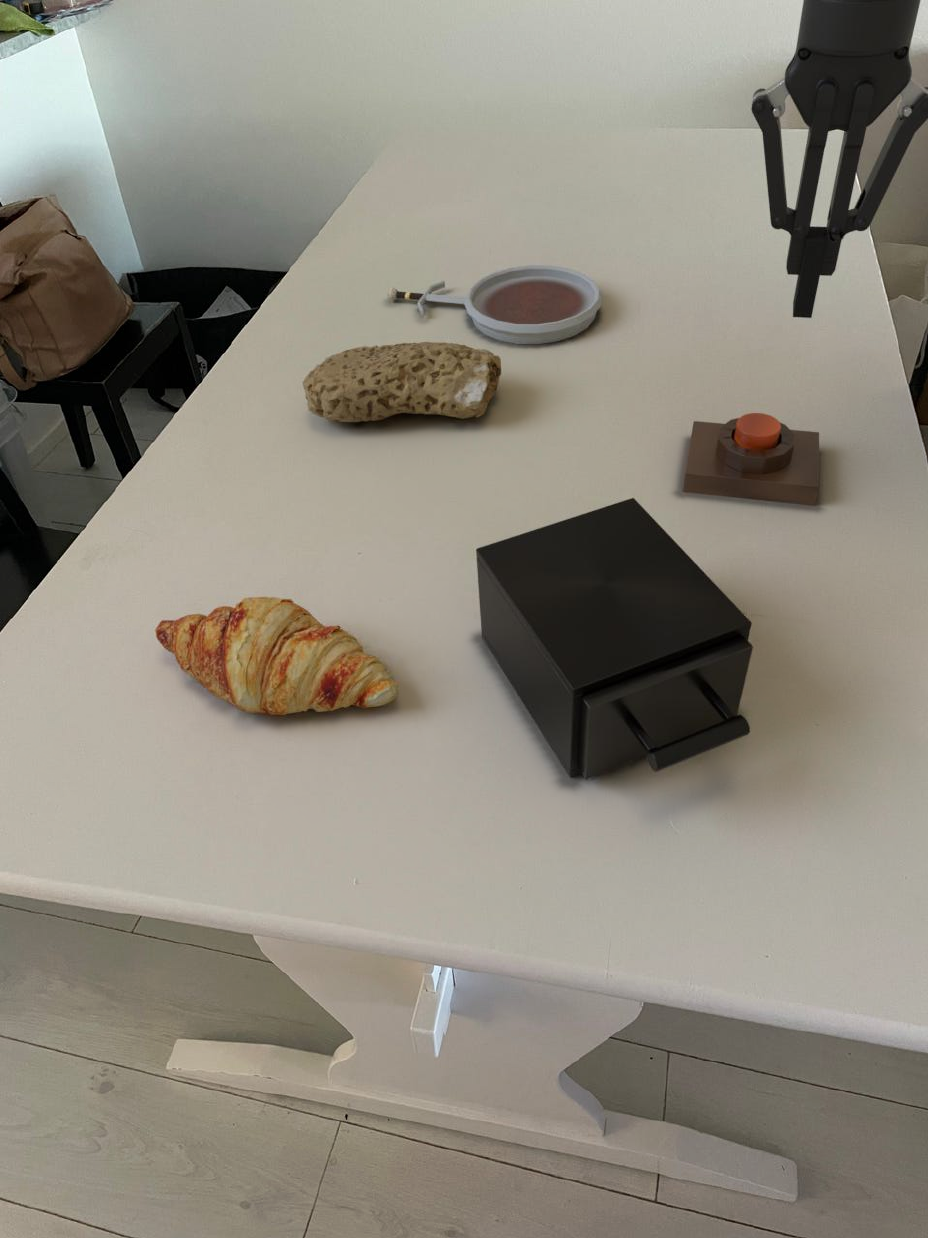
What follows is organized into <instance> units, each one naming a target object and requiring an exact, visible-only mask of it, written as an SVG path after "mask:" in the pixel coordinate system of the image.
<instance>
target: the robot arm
mask: <svg viewBox="0 0 928 1238" xmlns="http://www.w3.org/2000/svg"><path fill="white" fill-rule="evenodd" d="M920 5H921V0H803V1H802V8H801V15H800V21H799V28H798V35H797V39H796V47H795V52H794V54H793V56H792V58H791V60H790V61H789V63H788V65H787V67H786V68H785V73H784V77H783V78H782V79H780V80H778V81H777V82H775V83H774V84H772V85H770V86H769V87H767V88H758V89H757V90H756V91H754V93H753V95H752V99H751V100H752V101H751V113H752V116H753V117H754V119H755V121H756V123H757V125H758V127H759V129H760V131H761V133H762V141H763V142H762V145H763V153H764V165H765V176H766V185H767V186H766V187H767V196H768V207H769V217H770V225H771V227H772V228H773V229H775V230H783V231H786V232H787V233H789V235H790V239H789V244H788V251H787V257H786V265H785V266H786V268H785V269H786V272H787V273H786V274H787V275H788V276H789V275H790V276H791V275H793V276H797V279H796V284H795V290H794V296H793V301H792V318H802V319H803V318H804V319H812V318H813V311H814V306H815V301H816V297H817V292H818V287H819V282H820V277H821V276H823V277H824V276H825V277H826V276H827V277H829V276H830V277H832V275H833V274H834V273H835V271H836V270H837V269H836V267H837V262H838V259H839V254H840V250H841V244H842V240H843V239H844V237H845V236H846V235H847V234H849V233H852V232H856V231H858V232H865V231H866V230H868V229H869V227H870V226H871V224H872V223H873V220H874V218H875V216H876V214H877V212H878V210H879V208H880V206H881V203H882V202H883V199H884V198H885V195H886V194H887V191H888V189H889V187H890V185H891V183H892V181H893V179H894V177H895V175H896V173H897V171H898V168H899V167H900V164H901V162H902V160H903V158H904V156H905V154H906V152H907V150H908V148H909V146H910V144H911V142H912V140H913V138H914V136H915V134H916V133H917V131H918V130H919V129H920V128H921V127H922V126H923V125H924V124H925V122H926V121H927V120H928V86H922V84H920V83H919V82H918V81H917V80H915V79H914V78H913V77H912V75H913V69H912V66H911V62H910V49H911V44H912V39H913V35H914V32H915V26H916V22H917V18H918V14H919V10H920ZM899 95H900V99H899V100H898V102H897V105H896V111H897V114H898V115H897V117H896V118H895V120H894V122H893V124H892V126H891V128H890V131H889V132H888V134H887V137H886V139H885V140H884V143H883V145H882V147H881V149H880V151H879V154H878V156H877V158H876V159H875V162H874V164H873V166H872V169H871V172H870V173H869V175H868V177H867V179H866V181H865V183H864V186H863V188H862V190H861V193H860V194H859V197H858V198H857V201H856V203H855V205H854V207H853V208H850V205H851V200H852V196H853V192H854V191H853V190H854V186H855V182H856V176H857V172H858V166H859V161H860V157H861V152H862V148H863V146H864V141H865V137H866V131H867V128H868V127H870V126H871V125H872V124H873V123H874V122H875V121H876V120H877V119H878V118H879V117H880V116H881V115H882V114H883V113H884V111H886V109H887V108H888V107H889V106H890V105H891V104H892V103H893V102H894V101H895V99H897V97H898V96H899ZM788 96H790V98H791V100H792V102H793V104H794V106H795V107H796V109H797V111H798V113H799V116H800V117H801V119H802V120H803V122H804V124H805V125H806V126H807V127H808V131H807V138H806V145H805V151H804V156H803V162H802V168H801V173H800V178H799V185H798V190H797V197H796V202H795V206H794V207H795V208H791V207H789V206H788V199H787V198H788V197H787V188H786V175H785V162H784V152H783V151H784V149H783V140H782V127H781V118H782V116H783V115H784V114H785V111H786V98H788ZM836 130H839V131H841V132H842V131H843V135H842V141H841V147H840V150H839V151H840V152H839V157H838V162H837V166H836V167H837V168H836V171H835V177H834V183H833V188H832V192H831V199H830V202H829V203H830V205H829V209H828V214H827V219H826V220H827V221H826V226H811V224H812V219H813V212H814V208H815V202H816V197H817V192H818V185H819V181H820V176H821V170H822V166H823V165H822V164H823V158H824V154H825V148H826V145H827V142H828V135H829V132H833V131H836Z"/></svg>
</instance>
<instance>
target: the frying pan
mask: <svg viewBox="0 0 928 1238" xmlns="http://www.w3.org/2000/svg"><path fill="white" fill-rule="evenodd" d="M445 281H446V280H442V281H439V282H437V283H434V284H432V285H429V286H428V287H427V289H426V290H425V292H424V293H421V292H420V293H419V292H411V291H399V290H398V288H396V287H393V286H392V287H391V288H389V289H388V290H387V293H386V296H387V298H388V299H389V300H390V301H391V302H395V301H396V300H398V299H402V300H403V299H404V300H409V301H410V300H415V301H417V309H418V311H419V313H420V315H421V316H422V317H424V316H425V315H426V314H425V309H424V307H423V305H424V304H425V303H426V302H432V303H433V302H435V303H447V304H457V305H464V307H465V310H466V313H467V314H468V316H469V317H471V319H472V322H473V324H474V327H475V328H476V329H478V331H480V332H481V333H482V334H483V335H485V336H487V337H490V338H493V339H495V340H497V341H501V342H505V343H509V344H511V343H512V344H516V345H542V344H548V343H556V342H559V341H563V340H566V339H569V338H572V337H575V336H577V335H579V334H580V333H582V332H583V331H585V330H587V329H588V328H589V327H590V325H591V324H592V323H593V322H594V321H595V318H596V316H597V313H598V312H597V311H598V310H599V309H600V308H601V307H602V305H603V304H602V303H603V294H602V292H601V289H600V288H599V286H598V285H597V283H596V281H595V280H593V279H592V278H591V277H589V276H588V275H586V274H585V273H583V272H581V271H577V270H574V269H571V268H569V267H563V266H557V265H550V264H528V265H521V266H513V267H508V268H504V269H500V270H498V271H494V272H491V273H490V274H488V275H486V276H483V277H482V278H480V279H477V281H476V282H475V283H474V284H473V285H472V286H471V287H470V288H469V289H468V292H467V294H466V296H459V295H458V296H456V295H446V294H435V293H434V292H437V291H439V290H441V289H444V288H446V282H445ZM433 293H434V294H433Z"/></svg>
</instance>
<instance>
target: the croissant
mask: <svg viewBox="0 0 928 1238" xmlns="http://www.w3.org/2000/svg"><path fill="white" fill-rule="evenodd" d="M154 631H155V637H156V639H157V641H158V642H159V643H160V645H161V646H162V647H163V648H164V649H165V650H166V651H168V652H170V653H172V654H174V658H175V660H176V662H177V664H178V665H179V668H180V669H181V671H182V672H183V673H185V674H187V675H188V676H189V677H190V678H191V679H192V680H195V681H197V683H199V684H200V685H201V686H202V687H203V688H205V689H207V691H208V693H209V694H211V695H213V696H215V697H216V698H218V699H220V700H223V701H225V702H227V703H230V704H231V705H233V706H234V707H236V708H237V709H238V710H241V711H243V712H246V713H260V714H266V715H270V716H284V715H288V714H295V713H301V712H307V711H308V710H309V709H310V710H314V711H315V712H317V713H318V712H319V713H321V712H332V711H334V710H338V709H341V708H345V709H346V708H349V707H351V705H352V706H355V707H360V708H362V709H365V708H366V709H367V708H374V707H381V706H385V705H387V704H389V703H391V702H392V701H394V700H395V699H396V698H397V697H398V695H399V685H398V683H397V682H395V681H394V680H393V679H394V678H393V676H392V675H391V674H390V673H388V668H387V667H386V666H385V665H384V664H383V663H382V661H381V660H380V659H379V658H378V657H376V656H375V655H374V656H373V655H372V656H371V655H370V654H368V653H367V652H365V650H364V648H363V646H362V645H361V643H360V642H359V641H358V639H357V638H356V637H355V636H354V635H352V634H349V632H348V631H346V630H344V629H343V628H342V627H341V626H340V625H329V626H328V625H327V626H325V625H323V624H322V623H321V622H320V621H318V619H317V618H315V616H313V614H311V612H309V610H307V609H306V608H305V607H303V606H301V605H299V604H297V603H295V602H294V601H293V600H292V599H291V598H280V597H276V596H255V597H254V596H253V597H251V596H249V597H244V598H243V599H242V600H241V601H240V602H237V604H236V605H235V607H232V606H227V605H226V606H225V605H224V606H223V605H222V606H219V607H216V608H214V609H213V610H212V611H211V612H210V613H209V614H208V615H204V614H201V613H195V614H187V615H184V616H182V617H180V618H178V619H175V620H169V619H164V620H161V621H160V622H159V623H158V625H157V626H156V628H155V630H154Z"/></svg>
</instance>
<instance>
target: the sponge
mask: <svg viewBox="0 0 928 1238" xmlns="http://www.w3.org/2000/svg"><path fill="white" fill-rule="evenodd" d="M501 375H502V359H501V357H500V355H495V354H494V353H493V352H491V351H490V350H487V349H486V348H484V349H483V348H473V347H470V346H467V345H465V344H459V343H453V342H451V343H449V342H430V341H422V342H403V343H402V342H401V343H396V344H383V345H380V346H378V345H377V344H376V345H373V346H367V345H364V346H363V345H362V346H358V347H354V348H350V349H346V350H343V351H341V352H339V353H335V354H332V355H330V356H328V357H326V358H325V359H324V360H323V361H322V362H321V363H319V364H316V366H315V367H314V368H313V369H312V370H310V371H309V372H308V374H307V375H306V376H305V378H304V379H303V381H302V387H303V390H304V392H305V395H304V398H305V399H306V400H307V401H306V405H307V409H308V411H309V412H310V413H312V414H314V415H316V416H317V417H319V418H325V419H326V420H327V421H328V422H341V423H359V422H369V421H373V422H376V421H382V420H384V419H387V418H390V417H392V416H396V415H397V414H402V413H403V414H413V415H414V414H415V415H418V414H423V415H440V416H445V417H446V416H447V417H451V418H452V417H453V418H458V419H461V420H462V419H469V418H473V417H475V418H476V419H478V418H479V417H481V416H483V415H484V414H485V412H486V411H487V408H488V406H489V402H490V400H491V399H492V398H493V397H494V396H495V394H496V392H497V391H498V386H499V384H500V383H499V382H500V377H501Z"/></svg>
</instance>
